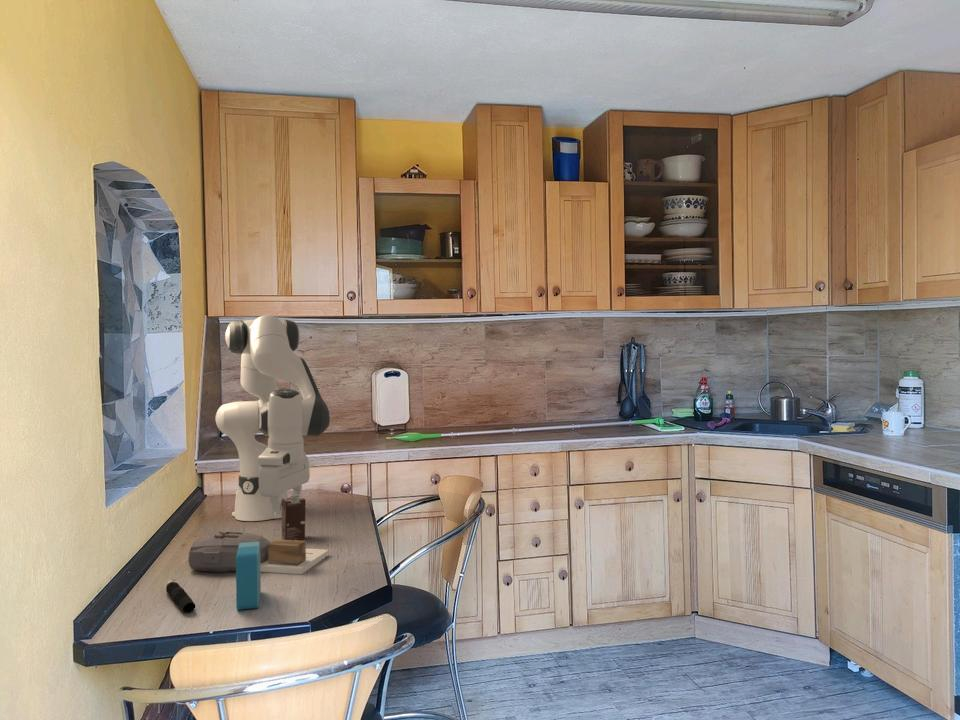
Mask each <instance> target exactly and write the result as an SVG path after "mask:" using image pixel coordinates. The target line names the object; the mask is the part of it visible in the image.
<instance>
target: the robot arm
mask: <svg viewBox="0 0 960 720" xmlns="http://www.w3.org/2000/svg"><path fill="white" fill-rule="evenodd" d="M224 335H225V336H224V339H225V343H226V346H227V348H228V350H229V351H230V353H233V354H236V355H241V357H240V385H241V388H242V389H243V390H244V391H245V392H246V393H248V394H250V395H253V396H255V397H257V398H258V400H248V401H247V400H246V401H245V400H243V401H231V402H228V403H224V404H222V405H220V406H219V408H217V412H216V413H215V423H216V424H215V425H216V426H217V427H216V428H217V429H218V430H219V431H220V432H221V433H222V434H224V435H225V436H227V437H228V438H229V439H230V440H231V441H232V443H233V444H234V446H235V448H236V450H237V454H238V461H239V475H238V480H237V482H238V487H239V489H237V490H236V492H235V502H234V503H235V504H234V511H232V512H231V516H232V517H234V519H236V521H237V520H238V521H244V522H260V521H267V520H273V519H282V499H285V498H289V497H288V491H290V490H292V494H291V496H290V498H291V503H294V504H296V503H298V502H299V497H301V496H300V495H301V492H302V489H303V487H302V485H305V484H306V483H309V481H310V462H309V458H308V456H307V455H306V454H307V453H306V451H305V450H304V449H305V448H304V447H305V445H304V443H305V442H304V437H303V436H307V437H319V436H320V435H322V434H323V433H324V432H326V430H328V428H329V426H330V424H331V423H330V421H331V415H330V411H329V407H328V404H327V403H326V402H325V400H324V398H323V397H322V395H321V393H320V391H319V388H318V387H317V383H316V381H315V378H314V376H313V374H312V372H311V369H310V368H309V366H308V364H307V362H306V361H305V359H304V358H302V357H300V356H299V355H297V353H295V351H296V350H297V349H298V347H299V345H300V342H301V341H300V340H301V333H300V329H299V326H298V324H297V323H296V322H295V321H292V320H288V319H284V320H281V319H279V318H278V317H277V316H274V315H270V314H265V315H261V316H258V317H257V318H255V319H246V320H244V319H243V320H242V319H237V320H234V321H233V320H232V321H231V322H230V323H228V325H227V328H226V331H225V334H224ZM277 379H280V380H284V381H286V382H290V383H292V384H294V385H296V387H297V388H298V389H299V391H298V390H295V389H290V388H281V389H279V388H278V386H277V385H278V383H277ZM257 434H263V435H265V436H268V438H267V444H265V443H262V442H261V441H258V440H256V438H255V437H256V436H255V435H257Z"/></svg>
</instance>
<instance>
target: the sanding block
mask: <svg viewBox="0 0 960 720" xmlns="http://www.w3.org/2000/svg"><path fill="white" fill-rule="evenodd" d="M306 546H307V542H306V540H282V539H279V538H278V539H275V540H274V541H270V544H268V556H269V564H280V565H295V566H298V565H299V564H301V563H302V562H304V561H305V560H306V549H307V547H306Z"/></svg>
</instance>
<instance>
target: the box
mask: <svg viewBox="0 0 960 720" xmlns="http://www.w3.org/2000/svg"><path fill="white" fill-rule="evenodd" d="M305 539H306V498H305V497H303V496H299V502H298V503H296V504H294V503H291V497H288V498H285V499H282V518H281V540H297V541H300V540H305Z"/></svg>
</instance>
